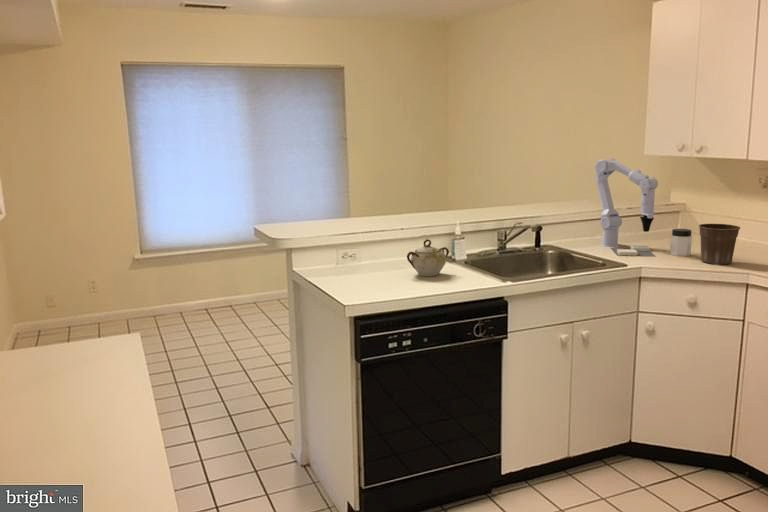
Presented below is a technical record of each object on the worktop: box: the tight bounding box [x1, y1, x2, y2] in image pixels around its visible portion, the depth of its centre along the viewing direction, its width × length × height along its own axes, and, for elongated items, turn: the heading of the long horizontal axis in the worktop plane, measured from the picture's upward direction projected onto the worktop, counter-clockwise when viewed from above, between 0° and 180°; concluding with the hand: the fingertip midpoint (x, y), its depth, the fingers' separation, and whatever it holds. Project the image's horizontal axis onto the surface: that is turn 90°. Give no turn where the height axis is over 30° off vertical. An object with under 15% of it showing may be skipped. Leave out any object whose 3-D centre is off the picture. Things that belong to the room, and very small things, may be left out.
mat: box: [610, 247, 657, 258], centre depth 306 cm, size 22×17×1 cm
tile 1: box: [617, 249, 639, 257], centre depth 301 cm, size 2×8×7 cm
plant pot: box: [698, 223, 741, 265], centre depth 280 cm, size 16×16×16 cm
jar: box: [669, 228, 693, 257], centre depth 298 cm, size 9×8×12 cm
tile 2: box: [629, 245, 651, 252], centre depth 311 cm, size 7×8×2 cm
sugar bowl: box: [406, 238, 450, 277], centre depth 267 cm, size 20×15×15 cm
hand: (646, 231), depth 307 cm, fingers closed
